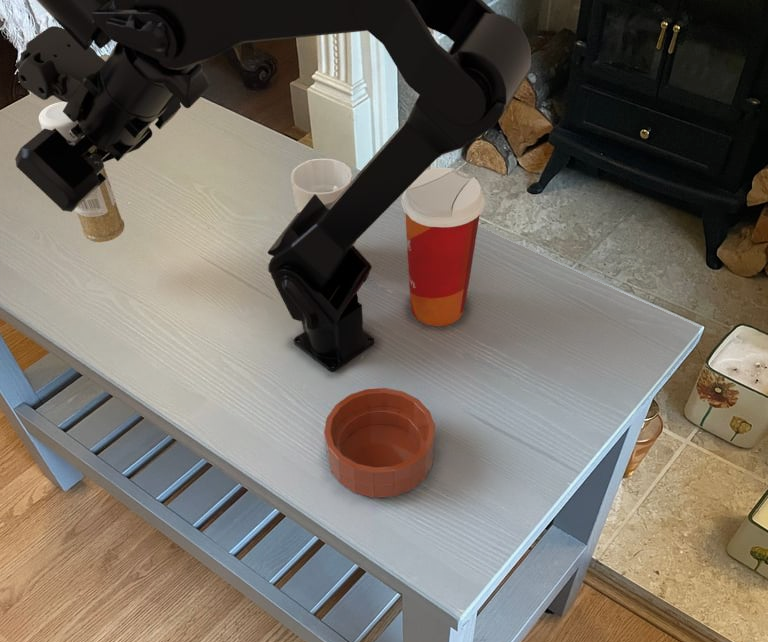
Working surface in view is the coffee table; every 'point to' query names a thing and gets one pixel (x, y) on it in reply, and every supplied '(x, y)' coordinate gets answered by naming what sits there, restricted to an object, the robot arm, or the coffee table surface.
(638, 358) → the coffee table surface
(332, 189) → the cup
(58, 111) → the sprinkles bottle
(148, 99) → the robot arm
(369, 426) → the bowl
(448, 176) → the coffee cup
